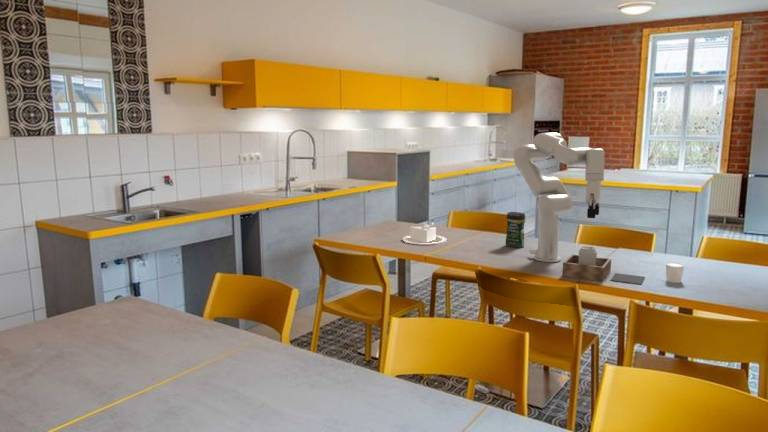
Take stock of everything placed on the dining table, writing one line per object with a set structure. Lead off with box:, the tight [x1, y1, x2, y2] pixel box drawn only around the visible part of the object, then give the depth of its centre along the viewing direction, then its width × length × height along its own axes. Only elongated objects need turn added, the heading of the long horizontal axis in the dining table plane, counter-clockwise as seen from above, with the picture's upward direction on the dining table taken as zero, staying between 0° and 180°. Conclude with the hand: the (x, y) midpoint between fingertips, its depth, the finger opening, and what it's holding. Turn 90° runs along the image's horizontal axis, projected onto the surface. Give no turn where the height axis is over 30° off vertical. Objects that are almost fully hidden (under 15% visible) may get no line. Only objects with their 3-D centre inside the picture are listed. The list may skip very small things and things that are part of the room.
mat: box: [610, 272, 646, 286], centre depth 244 cm, size 12×12×1 cm
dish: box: [401, 222, 447, 245], centre depth 321 cm, size 25×25×11 cm
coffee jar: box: [505, 211, 526, 248], centre depth 305 cm, size 10×8×19 cm
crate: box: [561, 254, 612, 282], centre depth 252 cm, size 17×17×6 cm
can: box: [578, 245, 598, 266], centre depth 251 cm, size 8×8×12 cm
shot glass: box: [665, 262, 685, 284], centre depth 240 cm, size 7×7×7 cm
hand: (593, 216), depth 249 cm, fingers open, 9 cm apart
